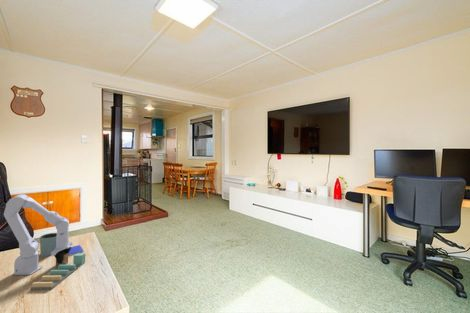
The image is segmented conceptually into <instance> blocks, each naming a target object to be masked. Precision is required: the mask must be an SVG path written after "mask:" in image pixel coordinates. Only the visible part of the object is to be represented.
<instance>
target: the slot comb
mask: <svg viewBox="0 0 470 313" xmlns="http://www.w3.org/2000/svg"><path fill="white" fill-rule="evenodd" d="M77 270H78V268H77V265H76V264H73V263H72V264H66V265H58V266H57V269H51V270H50V271H49V272H50V273H49V274H48V275H42V276H41V280H39V281H34V282H32V285H31V287H30V290H31V291H34V290H35V291H36V290H39V291H40V290H41V291H42V290H53V289H54V288H56V287H57V286H58V285H60V284H61V283H62V282H63V281H64V280H65V279H67V278H68V277H69V276H70V275H72V274H73V273H74V272H77Z"/></svg>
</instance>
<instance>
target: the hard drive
mask: <svg viewBox="0 0 470 313" xmlns="http://www.w3.org/2000/svg"><path fill="white" fill-rule="evenodd" d="M70 247H71V250H70V251H69V253H68V257H69V256H74V255H75V254H77V253H81V252H82V253H84V252H85V251H84V249H83V247H82V246H81V245H80V244H79V245H73V246H70Z"/></svg>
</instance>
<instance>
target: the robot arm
mask: <svg viewBox="0 0 470 313" xmlns="http://www.w3.org/2000/svg"><path fill="white" fill-rule="evenodd" d="M22 209H31V210H33V211H35V212H37V213H38V214H39V215H42V216H43V220H45V221H46V222H48V223H49V224H51V225H52V226H53V227H55V229H56V233H57V237H56V248H55V249H54V250H53V251H52V252H51V255H50V256H53V257H55V261H56V260H57V263H58V264H59V263H62V261H63V255H64V253H69V251H70V250H71V247H72V245H73V241H69V238H70V237H69V232H70V231H69V230H70V228H69V225H70V221H69V220H70V219H68V218H67V217H65V216H62V215H60V214H59V213H58V212H57V211H54V210H53V211H52V210H51V211H49V210H48V209H47V208H46V207H45V206H43V205H41V204H40V203H39V202H37V201H36V200H35V199H34V198H32V197H30V196H29V195H27V194H25V193H20V194H17V195H15V196H14V197H11V198H10V199H9V200H8V201H7V202H6V203H5V208H4V211H3V212H4V213H3V216H4V218H5V220H6V222H7V224H8V226H9V227H10V229H11V231H12V233H13V234H14V237H15V238H16V240H17V242H18V248H19V251H20V252H19V256H17V257H16V258H15V260H14V263H13V264H14V266H13V267H14V268H13V269H14V270H13V271H14V272H13V273H12V275H13V276H16V275H17V276H19V275H20V276H21V275H22V276H23V275H24V276H25V275H29V276H30V275H32V274H34V273H36V272H37V271H38V270H40V269H42V268H43V266H41V265H39V251H38V249H39V248H40V242H38V241H37V240H35V238H33V237H32V236H31V234H30V232H29V230H28V229H27V226H26V225H25V223H24V221H23V219H22V218H21V216H20V214H19V212H20V210H22Z"/></svg>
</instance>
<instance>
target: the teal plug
mask: <svg viewBox="0 0 470 313" xmlns="http://www.w3.org/2000/svg"><path fill="white" fill-rule="evenodd" d="M72 257H73V258H72V259H73V260H72V265H73V264H76V266H83V265H84V264H86V253H84V252H82V253H77V254H74V255H72Z"/></svg>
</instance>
